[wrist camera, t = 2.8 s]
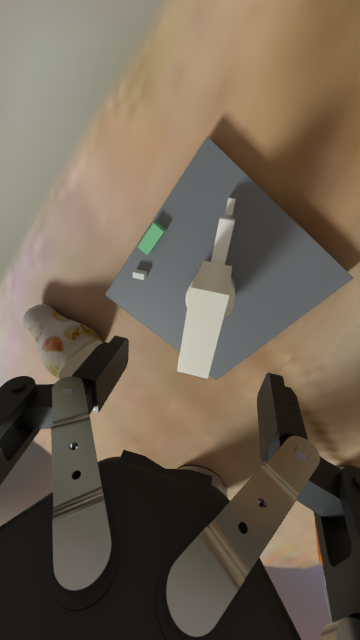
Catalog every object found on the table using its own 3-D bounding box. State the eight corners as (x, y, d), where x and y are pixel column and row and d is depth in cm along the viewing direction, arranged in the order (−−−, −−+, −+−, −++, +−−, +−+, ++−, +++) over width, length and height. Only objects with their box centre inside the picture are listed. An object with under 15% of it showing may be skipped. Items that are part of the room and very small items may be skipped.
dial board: (347, 272, 23) (358, 281, 20) (217, 372, 32) (215, 385, 30) (209, 139, 20) (205, 134, 18) (110, 290, 29) (100, 298, 27)
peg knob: (226, 322, 26) (220, 382, 18) (186, 314, 26) (164, 367, 19) (254, 220, 20) (262, 243, 13) (203, 211, 21) (182, 228, 13)
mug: (41, 282, 31) (26, 327, 23) (108, 313, 37) (114, 358, 29) (16, 324, 33) (-6, 378, 25) (83, 348, 39) (82, 398, 31)
